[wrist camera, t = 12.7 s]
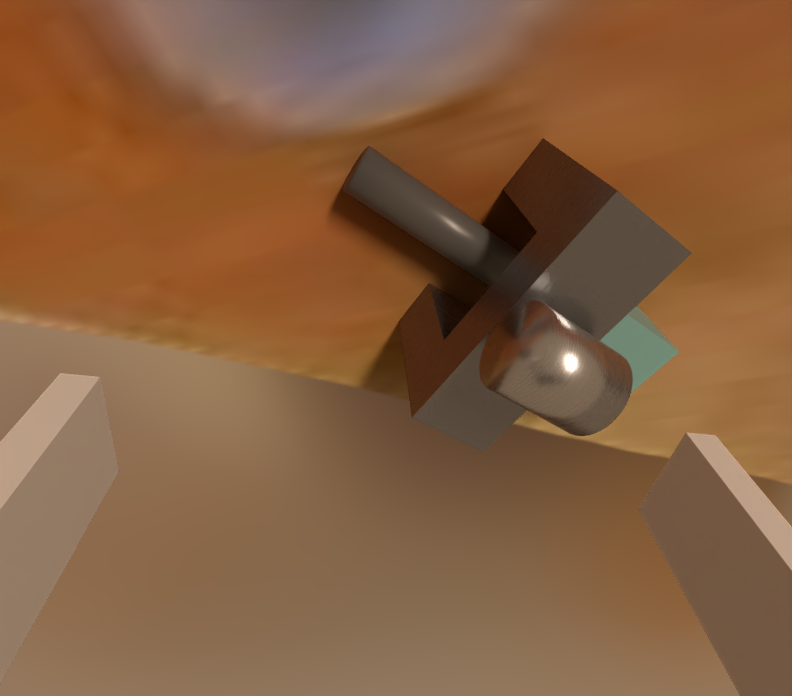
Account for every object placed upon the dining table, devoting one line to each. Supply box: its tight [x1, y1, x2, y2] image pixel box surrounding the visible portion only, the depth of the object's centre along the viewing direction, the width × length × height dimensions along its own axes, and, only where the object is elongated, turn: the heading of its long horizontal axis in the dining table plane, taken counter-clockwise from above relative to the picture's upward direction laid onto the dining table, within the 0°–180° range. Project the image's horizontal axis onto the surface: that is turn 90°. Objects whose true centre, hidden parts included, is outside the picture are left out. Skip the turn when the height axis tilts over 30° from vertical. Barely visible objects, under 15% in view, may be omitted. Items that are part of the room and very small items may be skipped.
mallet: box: [343, 146, 679, 393], centre depth 31 cm, size 22×6×6 cm, turn 55°
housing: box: [399, 139, 691, 452], centre depth 27 cm, size 5×14×14 cm, turn 145°
